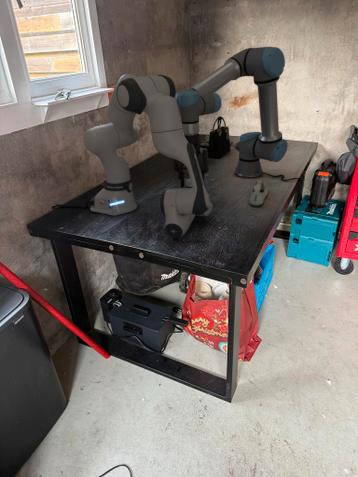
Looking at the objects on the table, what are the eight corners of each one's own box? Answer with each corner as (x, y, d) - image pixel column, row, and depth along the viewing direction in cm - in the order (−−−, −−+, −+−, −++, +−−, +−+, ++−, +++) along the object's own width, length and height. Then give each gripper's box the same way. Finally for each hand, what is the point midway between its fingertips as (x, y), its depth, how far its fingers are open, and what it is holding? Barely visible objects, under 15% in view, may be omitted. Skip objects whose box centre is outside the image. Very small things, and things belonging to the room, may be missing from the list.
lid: (187, 181, 145) (187, 178, 144) (199, 182, 144) (199, 178, 143) (183, 186, 141) (183, 182, 140) (196, 187, 139) (195, 183, 138)
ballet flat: (269, 188, 169) (270, 173, 165) (265, 208, 149) (266, 191, 145) (252, 187, 171) (253, 172, 167) (246, 206, 151) (247, 190, 147)
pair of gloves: (198, 151, 236) (198, 144, 233) (184, 143, 256) (183, 137, 254) (234, 145, 246) (235, 137, 243) (218, 138, 266) (218, 131, 263)
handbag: (218, 159, 217) (218, 119, 204) (206, 157, 221) (205, 119, 209) (231, 151, 232) (232, 114, 219) (219, 150, 236) (220, 113, 224)
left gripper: (209, 207, 131) (215, 194, 142) (160, 204, 137) (170, 191, 148) (209, 221, 134) (215, 207, 146) (162, 217, 140) (171, 204, 151)
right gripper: (217, 132, 131) (216, 186, 143) (169, 130, 138) (172, 182, 149) (212, 136, 125) (212, 192, 137) (162, 134, 132) (166, 188, 143)
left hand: (192, 199), depth 147 cm, fingers closed on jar, 4 cm apart
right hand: (191, 187), depth 143 cm, fingers open, 7 cm apart
